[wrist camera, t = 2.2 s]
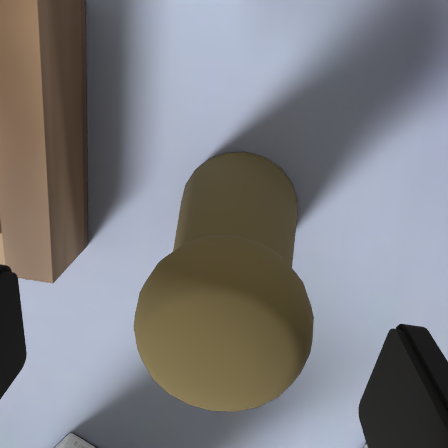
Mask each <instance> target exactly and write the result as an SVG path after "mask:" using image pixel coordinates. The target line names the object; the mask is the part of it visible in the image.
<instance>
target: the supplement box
mask: <svg viewBox="0 0 448 448" xmlns="http://www.w3.org/2000/svg"><path fill="white" fill-rule="evenodd" d="M55 448H96V447H94V446H92V445H91V444H89V443H88V442H86V441H84V440H83V439H81V438H79V437H78V436H76V435H74V434H72V433H70V434H68V435H67V436H66V437H65V438H64V439H63V440H62V441H61V442H60V443H59V444H58V445H57V446H56V447H55Z"/></svg>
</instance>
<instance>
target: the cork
mask: <svg viewBox="0 0 448 448" xmlns="http://www.w3.org/2000/svg"><path fill="white" fill-rule="evenodd" d="M297 202H298V200H297V197H296V194H295V190H294V187H293V184H292V182H291V181H290V180H289V178H288V177H287V176H286V174H285V173H284V172H283V170H282V169H281V168H280V167H278V166H277V165H276V164H274V163H273V162H271V161H270V160H268V159H267V158H265V157H262V156H258V155H255V154H252V153H248V152H230V153H225V154H222V155H219V156H216V157H213V158H211V159H209V160H207V161H206V162H205V163H204V164H202V165H201V166H200V167H198V168H197V169H196V170H195V171H194V173H193V174H192V176H191V177H190V179H189V180H188V182H187V183H186V185H185V189H184V193H183V197H182V201H181V207H180V213H179V219H178V225H177V231H176V237H175V243H174V249H173V252H172V253H171V254H169V255H168V256H166V257H165V258H164V259H162V260H161V261H160V262H159V263H158V264H157V266H156V267H155V269H154V270H153V272H152V273H151V275H150V276H149V278H148V279H147V280H146V282H145V284H144V286H143V288H142V289H141V291H140V294H139V299H138V303H137V308H136V312H135V320H134V332H135V337H136V343H137V349H138V352H139V354H140V356H141V359H142V361H143V363H144V364H145V366H146V368H147V370H148V371H149V373H150V375H151V377H152V378H153V379H154V380H155V381H156V382H157V383H158V384H159V385H160V386H161V387H162V388H163V389H164V390H165V391H166V392H167V393H169V394H170V395H172V396H174V397H176V398H178V399H180V400H181V401H183V402H185V403H187V404H189V405H192V406H196V407H200V408H203V409H207V410H211V411H232V412H236V411H241V410H246V409H251V408H256V407H259V406H261V405H263V404H265V403H267V402H269V401H271V400H273V399H275V398H277V397H279V396H280V395H281V394H282V393H283V392H284V391H285V390H286V389H287V388H288V387H289V386H290V385H291V384H292V383H293V382H294V381H295V380H296V378H297V377H298V376H299V375H300V373H301V371H302V369H303V367H304V365H305V363H306V361H307V359H308V357H309V354H310V351H311V345H312V338H313V320H314V317H313V313H312V308H311V304H310V301H309V299H308V296H307V293H306V290H305V287H304V284H303V282H302V280H301V279H300V278H299V277H298V275H297V274H296V273H295V271H294V270H293V269H292V260H293V251H294V241H295V232H296V222H297Z"/></svg>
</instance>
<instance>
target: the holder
mask: <svg viewBox="0 0 448 448" xmlns="http://www.w3.org/2000/svg"><path fill="white" fill-rule="evenodd" d="M87 246H88V186H87V92H86V0H0V264H1V265H7V266H9V267H10V268H11V270H12V272H14V273H16V275H17V277H18V278H23V279H29V280H35V281H41V282H47V283H54V282H55V281H56V279H57V278H58V277H59V276H60V275H61V274H62V273H63V272H64V271H65V270H66V269H67V267H68V266H69V265H70V264H71V263H72V262H73V261H74V260H75V259H76V258H77V256H78V255H79V254H80V253H81V252H82V251H83V250H84V249H85V248H86V247H87Z"/></svg>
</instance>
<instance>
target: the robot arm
mask: <svg viewBox="0 0 448 448" xmlns="http://www.w3.org/2000/svg"><path fill="white" fill-rule="evenodd" d="M25 360H26V345H25V336H24V328H23V319H22V311H21V302H20V293H19V285H18V277H17V275H16V273H14V272H12V270H11V268H10V267H9V266H7V265H1V264H0V399H1V398H2V396H3V395H4V393H5V392H6V391H7V389H8V388H9V386H10V385H11V383H12V382H13V381H14V379H15V378H16V376H17V375H18V374H19V372H20V371H21V369H22V368H23V366H24V363H25ZM359 419H360V422H361V426H362V429H363V433H364V436H365V439H366V443H367V444H366V445H365V446H364V448H448V361H447V360H446V358H445V357H444V355H443V353H442V352H441V350H440V349H439V347H438V346H437V344H436V342H435V341H434V339H433V338H432V336H431V334H430V333H429V331H428V330H427V329H426V328H424V327H419V326H412V325H406V324H399V325H398V326H397V327H396V329H391V330H390V331H389V333H388V335H387V337H386V340H385V342H384V345H383V347H382V349H381V352H380V354H379V357H378V359H377V362H376V364H375V367H374V369H373V372H372V374H371V376H370V379H369V381H368V384H367V386H366V389H365V391H364V394H363V396H362V399H361V401H360V404H359Z"/></svg>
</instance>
